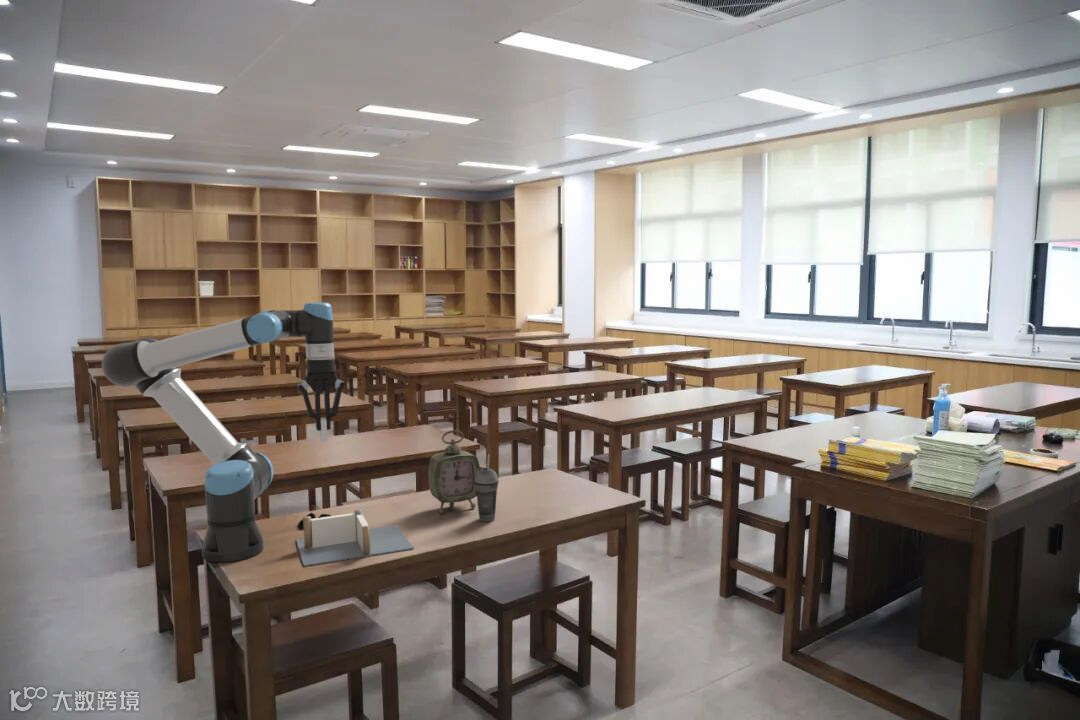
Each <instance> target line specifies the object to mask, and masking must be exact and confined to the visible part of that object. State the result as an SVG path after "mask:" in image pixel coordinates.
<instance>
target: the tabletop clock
mask: <svg viewBox="0 0 1080 720" xmlns="http://www.w3.org/2000/svg"><path fill="white" fill-rule="evenodd" d="M453 433H454V434H455V433H457V434H460V435H461V438H460V439H458V440H455V439H451V440H450V441H446V440H445V439H444V438H445V436H446V435H448V434H449V435H450V434H453ZM463 440H464V434H463V432H462V431H459V430H448V431H446V432H445V433H444V434H443V435H442V436H441V441H442V442H443V443H444V444H445V445H446V444H447V445H448V446H446V447H445V450H444V451H443V452H439V453H436V454H433V455H432V456H431V457H430V459H429V462H428V473H427V475H428V476H427V477H428V487H429V490H430V493H431V495H432V497H434V499H436V500H437V501H439V502H440V503H441V504H440V507H439V508H438V509H437V512H438V513H439V514H443V513H444V509H443V507H444V504H449V507H450V508H454V507H455V503H459V502H460V503H461V502H464V501H468V502H469V503H470V508H471V509H475V508H476V506H477V505H476V503H474V502H473V501H472V499H474V498H476V497H477V492H476V488H475V483H474V482H475V477H476V474H477V473H478V472H479V471H480V470H481V467H480V462H479V460H478V457H477V456H476V455H474V454H473V453H470V452H468V451H466V450H462V449H461V447H460V446H459V445H458V444H459V443H460V442H462V441H463Z"/></svg>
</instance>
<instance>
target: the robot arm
mask: <svg viewBox="0 0 1080 720" xmlns="http://www.w3.org/2000/svg"><path fill="white" fill-rule="evenodd" d="M283 338H285V339H286V338H304V339H305V357H306V358H307V360H306V376H305V378H304V380H303V381H302V382H301V383H298V384H297V388H298V389H299V391H300V392H301V395H302V398H303V401H304V404H305V407H306V411H307V414H308V416H309V417H310V418H311V419H315V429H316V430H317V431H318V432H319V431H320V442H321V443H322V444H323V443H328V430H330V431H331V427H332V425H331V419H332V418H333V417H335V416H337V415H338V411H339V407H340V401H341V396H342V391H343V389H344V388H345V386H346V382H345V381H343V380H340V379H339V378H338V376H337V374H336V363H335V362H336V361H335V358H333V357H335V343H334V339H335V338H334V317H333V307H332V305H331V303H329V302H307V303H304V305H303V309H298V310H297V309H296V310H292V309H291V310H288V309H287V310H286V309H285V310H284V309H283V310H282V309H280V310H279V309H270V310H262V311H260V312H258V313H256V314H254V315H251V316H247V317H244V318H239V319H236V320H231V321H228V322H224V323H220V324H217V325H213V326H209V327H205V328H202V329H199V330H198V329H197V330H194V331H190V332H186V333H182V334H179V335H175V336H172V337H168V338H164V339H160V340H159V339H155V338H154V339H153V338H152V339H151V338H142V339H138V340H134V341H128V342H122V343H118V344H116V345H113V346H112V347H111V348H109V349H108V350H107V351H106V352H105V354H104V355H103V358H102V361H101V369H102V372H103V375H104V377H105V378H106V379H107V380H108V381H110V383H112V384H114V385H116V386H119V387H124V388H126V387H127V388H130V387H135V388H136V389H137V390H138V391H139V392H140V393H141V394H142V396H144V397H150V398H153V399H154V400H155V401H156V402H157V403H158V404H159V406H160V407H161V408H162V409H163V410H164V411H165V412H166V413H167V414H168V416H169V417H171V419H172V420H173V421H174V422H175V423H176V424H177V426H179V428H180V429H181V430H182V431H183V432H184V433H185V434H186V435H187V437H189V439H190V440H191V441H192V442H193V443H194V444H195V445H196V447H197V448H198V449H199V450H200V451H201V452H202V453H203V454H204V455H205V456H206V458H208V459H209V461H210V463H212V464H211V466H210V467H209V468H207V470H206V471H205V474H204V482H203V485H204V486H203V487H204V492H205V493H204V494H205V504H206V506H205V508H206V518H207V522H206V523H207V528H206V532H205V534H204V539H203V542H202V546H201V557H202V559H203V560H205V561H207V562H212V563H231V562H237V561H241V560H242V561H243V560H246V559H248V558H249V559H250V558H251V557H254V556H256V555H258V554H260V553H262V552H263V550H264V547H265V544H264V538H263V535H262V533H261V531H260V529H259V526H258V523H257V521H256V514H255V513H256V511H255V510H256V508H255V500H256V499H257V498H258V497H259V496H260V495H261V494H263V493H264V492H265V491H267V489H268V487H269V486H270V485H271V482H272V480H273V477H274V466H273V464H272V462H271V460H270V458H268V457H267V456H266V455H264V454H262V453H261V452H258V451H257V452H255V451H254V450H253V449H252V448H251V446H250V445H248V443H245V442H238V440H237V439H236V438H235V436H233V435H232V434H231V433H230V431H228V429H227V428H226V427H225V425H223V424H222V422H221V421H220V420H219V419H218V418H217V417H216V416H215V415H214V414H213V413H212V411H211V410H209V407H207V406H206V404H205V403H204V402H203V401H202V400H201V398H199V397H198V395H196V393H195V392H194V391H193V390H192V388H190V386H188V384H186V382H185V381H184V380H183V379H182V377H181V374H182V373H181V372H182V369H181V366H184V365H188V364H191V363H195V362H198V361H203V360H205V359H210V358H213V357H218V356H220V355H225V354H229V353H232V352H235V351H239V350H243V349H247V348H251V347H254V346H258V345H263V344H268V343H271V342H274V341H277V340H281V339H283ZM334 386H335V387H336V389H335V392H334V398H333V402H332V408H331V401H330V400H331V397H330V393H331V392H330V391H331V389H332V388H333V387H334ZM308 387H310V389H311V390H312V391H313V393H314V409H313V407H312V405H311V404H312V403H311V401H310V397H309V394H308V391H307V390H308ZM321 392H323V403H324V404H323V405H324V416H325V417H322V414H321V411H322V410H321ZM313 410H314V411H313Z"/></svg>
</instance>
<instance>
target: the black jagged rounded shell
mask: <svg viewBox="0 0 1080 720" xmlns="http://www.w3.org/2000/svg"><path fill="white" fill-rule="evenodd" d="M306 516H310V517H311V519H314V518H317V517H316V514H315V513H314V512H309V514H307V515H306ZM329 516H332V515H331V514H327V513H321V514H320V515H319V517H320V518H322V517H329ZM297 527H298V531H300V530H301V531H304V525H303V518H302V519H301V520H300V521H299V522H298V524H297Z"/></svg>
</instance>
